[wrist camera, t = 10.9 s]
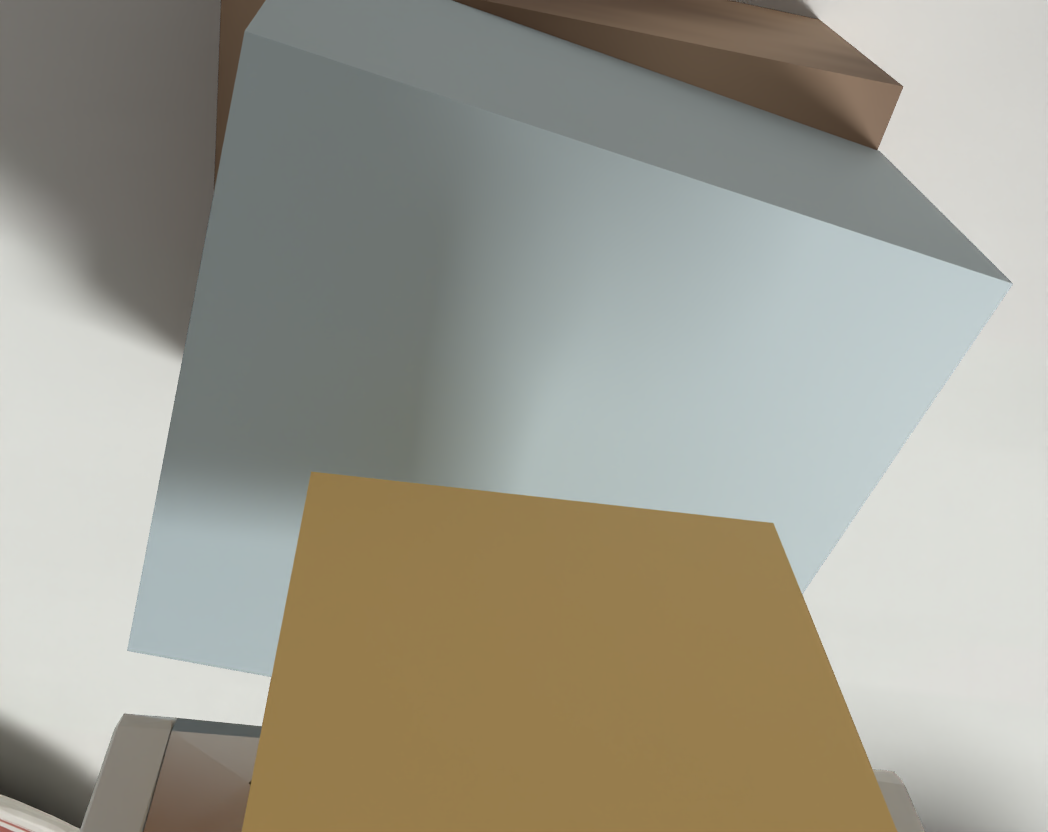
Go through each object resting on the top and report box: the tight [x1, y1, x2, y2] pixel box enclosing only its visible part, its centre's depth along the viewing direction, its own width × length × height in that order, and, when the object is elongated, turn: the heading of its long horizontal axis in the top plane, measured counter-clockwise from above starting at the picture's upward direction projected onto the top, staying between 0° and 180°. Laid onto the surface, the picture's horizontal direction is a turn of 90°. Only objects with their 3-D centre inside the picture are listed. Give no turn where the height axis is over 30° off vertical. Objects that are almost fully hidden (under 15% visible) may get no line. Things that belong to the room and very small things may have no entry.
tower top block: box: [127, 0, 1013, 677], centre depth 17 cm, size 10×10×5 cm
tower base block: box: [214, 0, 903, 190], centre depth 21 cm, size 11×11×5 cm
